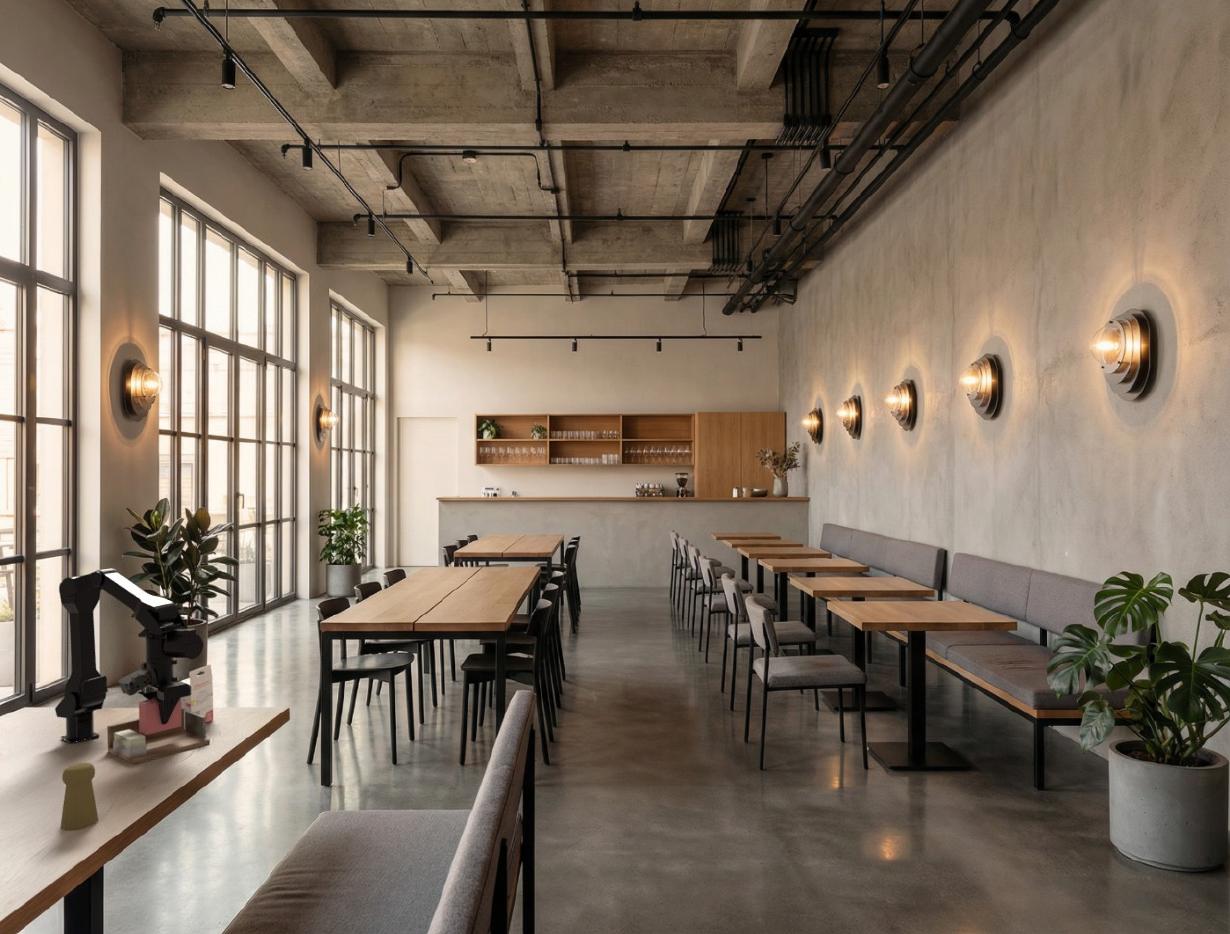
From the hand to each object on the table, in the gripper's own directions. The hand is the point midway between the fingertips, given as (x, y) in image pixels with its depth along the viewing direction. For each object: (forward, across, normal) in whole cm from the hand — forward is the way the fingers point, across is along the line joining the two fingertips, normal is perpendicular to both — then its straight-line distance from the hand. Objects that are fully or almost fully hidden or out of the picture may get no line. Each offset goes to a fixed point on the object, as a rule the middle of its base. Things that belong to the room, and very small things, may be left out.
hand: (160, 722), depth 201 cm
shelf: (+6, -1, 0) cm, 6 cm away
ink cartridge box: (+6, -12, +14) cm, 19 cm away
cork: (+6, +31, -28) cm, 43 cm away
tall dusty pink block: (+2, 0, 0) cm, 2 cm away
